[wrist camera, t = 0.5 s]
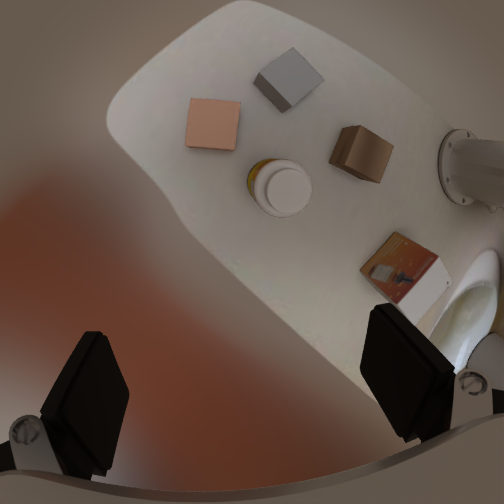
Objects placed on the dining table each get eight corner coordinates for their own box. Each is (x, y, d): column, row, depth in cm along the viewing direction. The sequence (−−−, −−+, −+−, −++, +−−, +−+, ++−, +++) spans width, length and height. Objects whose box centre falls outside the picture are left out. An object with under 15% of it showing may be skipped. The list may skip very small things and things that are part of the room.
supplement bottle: (288, 155, 33) (317, 156, 23) (295, 200, 35) (324, 218, 25) (242, 162, 32) (252, 164, 23) (250, 207, 34) (262, 228, 25)
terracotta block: (237, 110, 30) (240, 102, 26) (232, 151, 32) (234, 149, 27) (194, 106, 30) (190, 98, 25) (189, 147, 31) (184, 145, 27)
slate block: (310, 89, 30) (324, 80, 26) (281, 113, 31) (292, 106, 26) (283, 60, 29) (293, 47, 24) (253, 83, 29) (258, 72, 25)
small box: (394, 230, 38) (440, 254, 28) (411, 254, 39) (454, 281, 29) (357, 270, 39) (396, 305, 29) (377, 291, 41) (414, 327, 31)
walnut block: (373, 145, 33) (393, 146, 29) (360, 179, 35) (379, 183, 30) (342, 128, 32) (360, 125, 28) (328, 162, 34) (344, 164, 29)
